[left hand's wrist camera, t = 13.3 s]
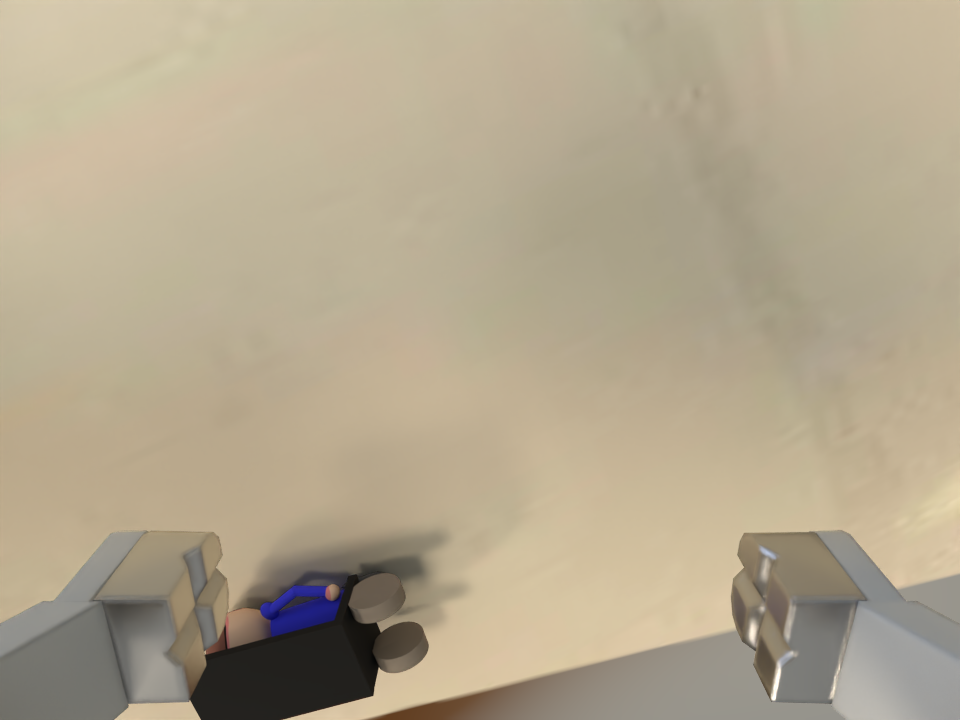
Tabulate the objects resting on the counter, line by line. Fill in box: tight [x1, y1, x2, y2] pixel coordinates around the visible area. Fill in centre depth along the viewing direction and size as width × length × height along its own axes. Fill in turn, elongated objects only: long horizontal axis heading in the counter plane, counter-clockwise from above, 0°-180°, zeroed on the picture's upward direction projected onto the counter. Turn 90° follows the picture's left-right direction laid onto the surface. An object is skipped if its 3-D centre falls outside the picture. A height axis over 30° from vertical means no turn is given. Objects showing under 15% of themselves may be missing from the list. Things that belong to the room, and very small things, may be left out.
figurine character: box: [190, 571, 429, 720], centre depth 46 cm, size 7×8×15 cm
